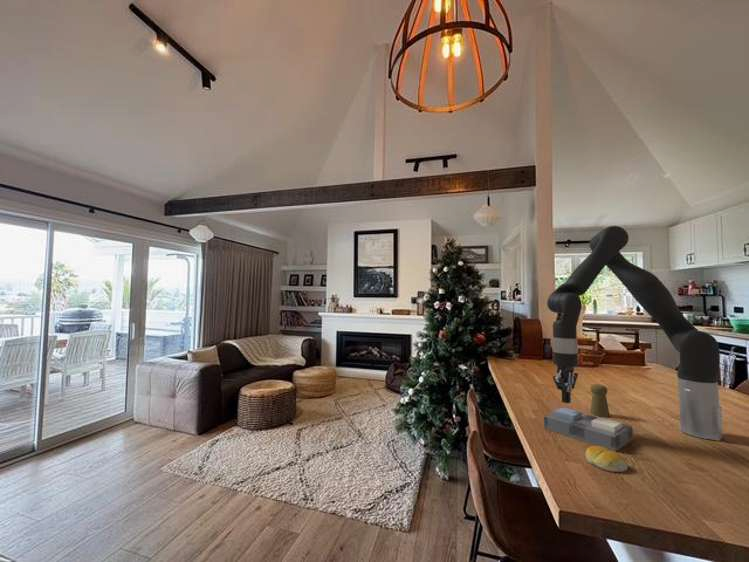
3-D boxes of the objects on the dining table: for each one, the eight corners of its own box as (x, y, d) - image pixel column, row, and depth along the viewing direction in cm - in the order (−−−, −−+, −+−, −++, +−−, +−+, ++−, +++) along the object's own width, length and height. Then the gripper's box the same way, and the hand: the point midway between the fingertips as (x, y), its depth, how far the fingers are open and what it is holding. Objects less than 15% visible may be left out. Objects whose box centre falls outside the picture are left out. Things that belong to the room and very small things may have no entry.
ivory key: (622, 431, 98) (621, 422, 98) (614, 435, 94) (614, 427, 94) (599, 424, 103) (599, 416, 103) (591, 429, 99) (591, 420, 99)
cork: (613, 417, 117) (611, 387, 118) (594, 416, 118) (593, 386, 119) (604, 412, 123) (603, 383, 124) (587, 411, 124) (586, 382, 125)
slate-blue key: (581, 419, 107) (581, 412, 107) (573, 423, 103) (573, 415, 104) (562, 414, 112) (562, 407, 112) (554, 418, 108) (554, 410, 109)
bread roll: (601, 454, 89) (601, 440, 90) (634, 471, 81) (633, 454, 81) (577, 457, 88) (576, 442, 88) (607, 475, 79) (606, 458, 79)
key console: (632, 439, 99) (632, 426, 99) (615, 451, 91) (614, 437, 91) (564, 419, 115) (564, 408, 115) (544, 428, 107) (544, 416, 107)
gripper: (567, 354, 103) (568, 409, 102) (585, 350, 110) (587, 402, 109) (543, 351, 109) (545, 402, 108) (562, 348, 116) (564, 396, 115)
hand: (566, 402), depth 108 cm, fingers closed
